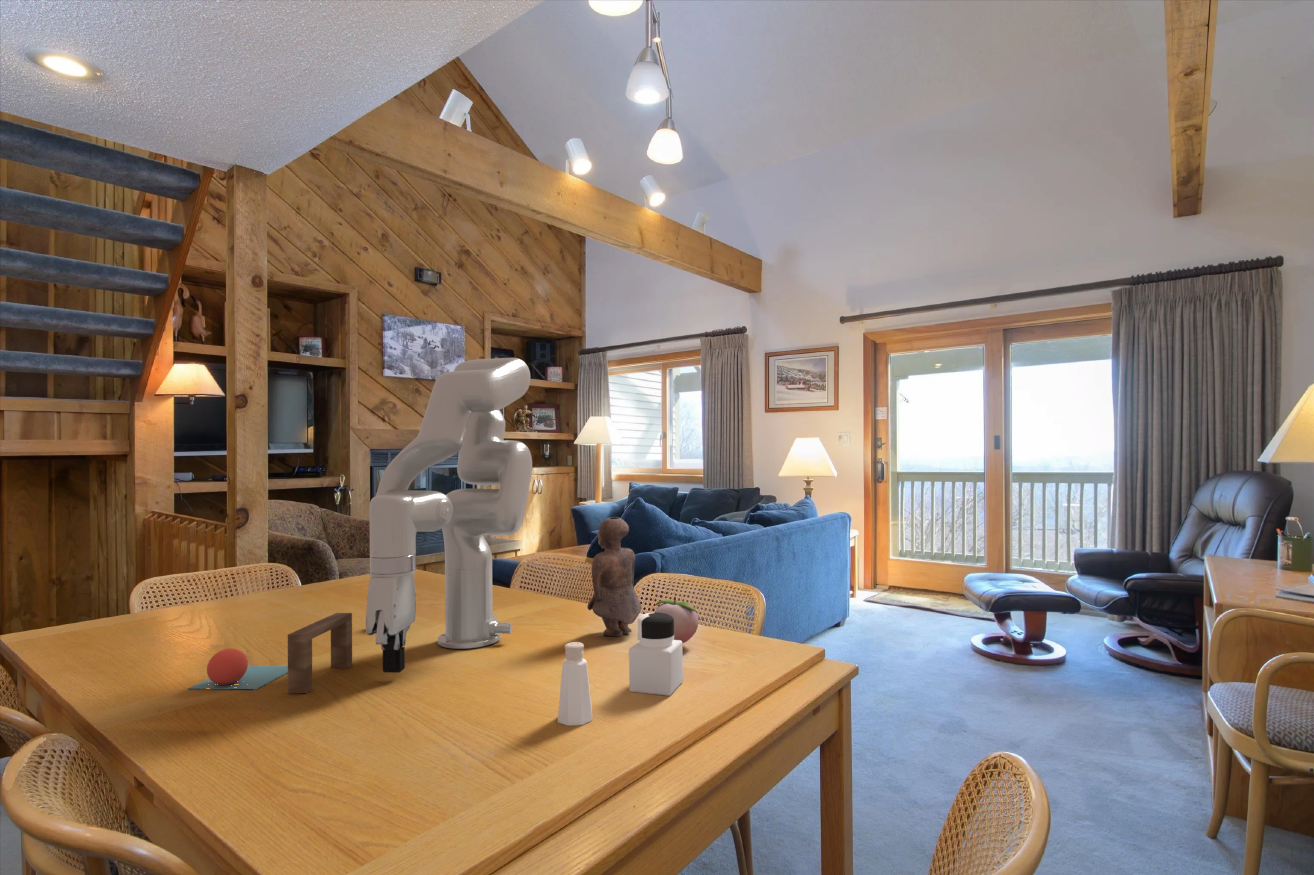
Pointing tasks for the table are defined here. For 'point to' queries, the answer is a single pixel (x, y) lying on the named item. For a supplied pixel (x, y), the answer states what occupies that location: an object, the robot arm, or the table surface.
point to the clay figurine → (614, 580)
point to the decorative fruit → (680, 618)
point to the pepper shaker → (574, 688)
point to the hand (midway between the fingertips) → (393, 670)
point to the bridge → (303, 649)
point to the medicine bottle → (655, 656)
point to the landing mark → (249, 678)
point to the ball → (227, 666)
